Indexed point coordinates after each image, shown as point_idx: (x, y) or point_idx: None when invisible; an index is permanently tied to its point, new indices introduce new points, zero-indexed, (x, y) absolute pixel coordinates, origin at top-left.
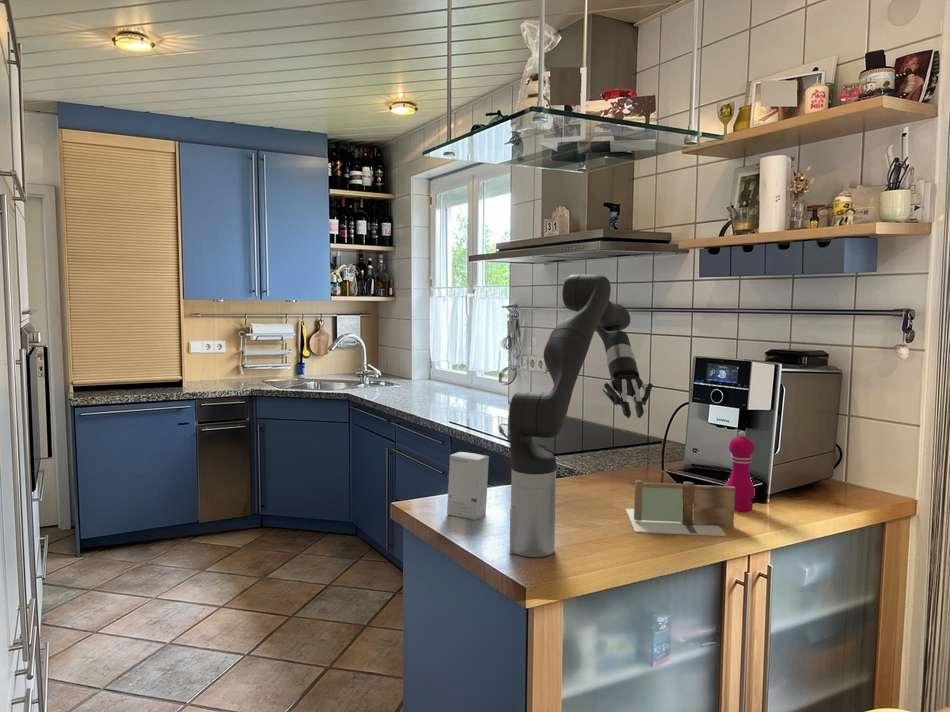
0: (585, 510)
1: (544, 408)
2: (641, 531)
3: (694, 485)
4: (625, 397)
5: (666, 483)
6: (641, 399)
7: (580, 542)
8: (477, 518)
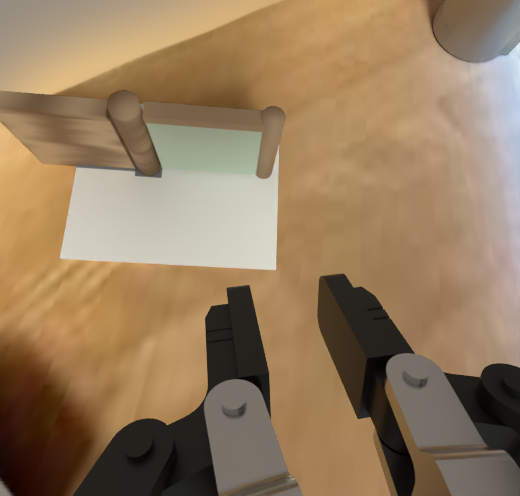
0: (376, 258)
1: None
2: None
3: (106, 110)
4: (421, 404)
5: (190, 117)
6: (209, 410)
7: (388, 65)
8: None
